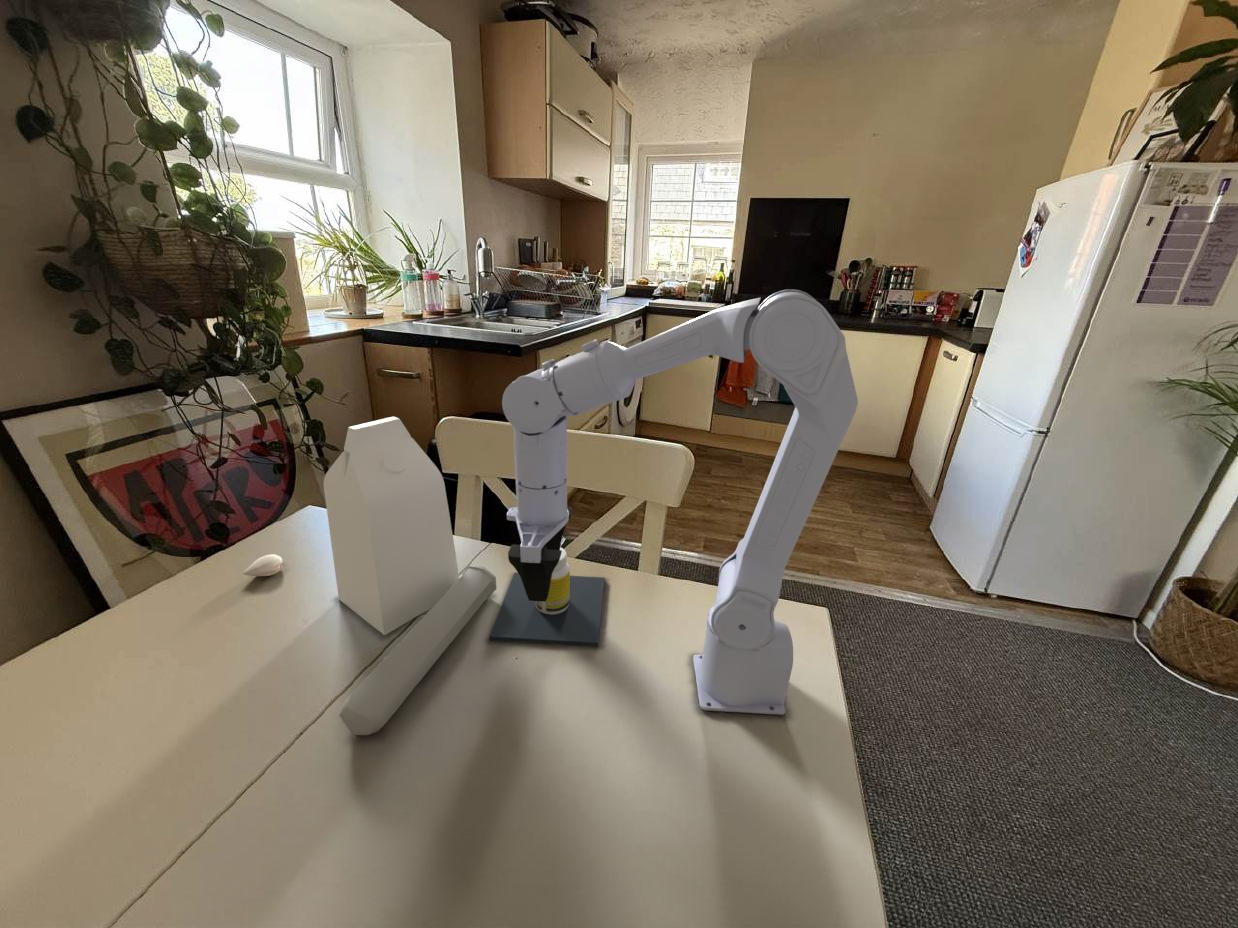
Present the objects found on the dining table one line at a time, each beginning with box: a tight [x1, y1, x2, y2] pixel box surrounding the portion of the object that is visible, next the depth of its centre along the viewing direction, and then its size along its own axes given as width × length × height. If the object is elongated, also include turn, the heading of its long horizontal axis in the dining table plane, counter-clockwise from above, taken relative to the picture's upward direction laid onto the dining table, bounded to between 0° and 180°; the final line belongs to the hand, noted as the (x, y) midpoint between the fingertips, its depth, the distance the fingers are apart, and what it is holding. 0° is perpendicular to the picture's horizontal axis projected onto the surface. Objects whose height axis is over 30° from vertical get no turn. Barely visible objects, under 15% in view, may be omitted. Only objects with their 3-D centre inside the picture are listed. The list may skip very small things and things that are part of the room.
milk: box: [323, 415, 461, 636], centre depth 66 cm, size 12×12×26 cm
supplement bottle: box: [536, 546, 571, 615], centre depth 68 cm, size 5×5×8 cm
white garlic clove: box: [243, 553, 284, 577], centre depth 74 cm, size 4×5×2 cm
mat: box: [489, 572, 606, 647], centre depth 70 cm, size 14×14×1 cm
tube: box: [338, 563, 497, 736], centre depth 60 cm, size 5×5×25 cm
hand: (543, 579), depth 61 cm, fingers open, 7 cm apart
